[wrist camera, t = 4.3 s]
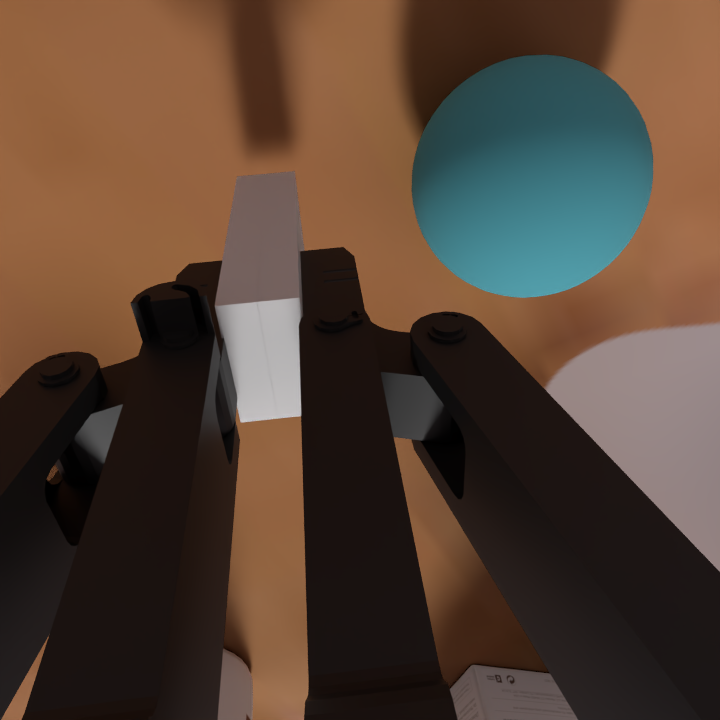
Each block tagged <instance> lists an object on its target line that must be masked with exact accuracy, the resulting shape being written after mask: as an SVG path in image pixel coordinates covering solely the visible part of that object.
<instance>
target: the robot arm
mask: <svg viewBox="0 0 720 720" xmlns="http://www.w3.org/2000/svg"><path fill="white" fill-rule="evenodd" d="M131 306H132V309H133V313H134V316H135V319H136V322H137V325H138V328H139V332H140V335H141V338H142V341H143V343H142V346H141V349H140V352H139V356H137V357H135V358H133V359H130V360H127V361H124V362H121V363H118V364H114V365H111V366H108V367H104V368H100V366H99V363H98V360H97V358H95V357H94V356H92V355H91V354H89V353H83V352H67V353H66V352H65V353H59V354H57V355H52V356H49V357H47V358H46V359H44V360H42V361H40V362H38V363H36V364H34V365H33V366H32V367H30V368H29V369H28V370H27V371H25V372H24V373H23V374H22V375H21V377H20V378H19V379H18V380H17V381H16V382H15V383H14V384H13V385H12V386H11V387H10V388H9V389H8V391H7V392H6V393H5V394H4V395H3V396H2V397H1V398H0V720H1V719H2V717H3V715H4V713H5V711H6V710H7V708H8V706H9V704H10V703H11V701H12V699H13V697H14V696H15V694H16V692H17V690H18V689H19V687H20V685H21V683H22V682H23V680H24V678H25V676H26V674H27V673H28V671H29V669H30V667H31V666H32V664H33V662H34V660H35V659H36V657H37V655H38V653H39V652H40V650H41V648H42V646H43V645H44V643H45V641H46V639H47V637H48V636H49V638H48V641H47V644H46V647H45V650H44V654H43V657H42V660H41V663H40V666H39V669H38V672H37V676H36V679H35V682H34V685H33V688H32V691H31V694H30V698H29V701H28V704H27V707H26V710H25V713H24V715H23V718H22V720H218V708H219V695H220V683H221V670H222V658H223V645H224V633H225V620H226V607H227V595H228V582H229V570H230V557H231V544H232V532H233V519H234V507H235V494H236V481H237V469H238V456H239V444H240V439H239V434H238V430H237V425H236V421H235V419H236V408H238V412H239V417H240V421H241V422H250V421H259V420H268V419H277V418H287V417H296V416H301V425H302V461H303V496H304V531H305V567H306V602H307V638H308V673H309V691H308V697H307V699H306V701H305V714H304V720H458V719H457V715H456V711H455V706H454V702H453V698H452V695H451V692H450V689H449V686H448V684H447V683H446V681H445V680H444V679H443V677H442V674H441V671H440V666H439V662H438V657H437V652H436V647H435V642H434V637H433V632H432V627H431V622H430V617H429V612H428V607H427V602H426V597H425V592H424V587H423V582H422V577H421V572H420V567H419V562H418V557H417V552H416V547H415V542H414V537H413V532H412V527H411V522H410V517H409V512H408V507H407V502H406V497H405V492H404V487H403V482H402V477H401V472H400V467H399V462H398V457H397V452H396V447H395V442H394V437H398V438H406V439H412V443H413V447H414V450H415V451H416V453H417V455H418V456H419V458H420V460H421V461H422V463H423V465H424V466H425V468H426V470H427V471H428V473H429V474H430V476H431V478H432V479H433V481H434V483H435V484H436V486H437V488H438V489H439V491H440V493H441V494H442V496H443V498H444V499H445V501H446V503H447V504H448V506H449V508H450V509H451V511H452V512H453V514H454V516H455V517H456V519H457V521H458V522H459V524H460V526H461V527H462V529H463V531H464V532H465V534H466V536H467V537H468V539H469V541H470V542H471V544H472V546H473V547H474V549H475V550H476V552H477V554H478V555H479V557H480V559H481V560H482V562H483V564H484V565H485V567H486V569H487V570H488V572H489V574H490V575H491V577H492V579H493V580H494V582H495V583H496V585H497V587H498V588H499V590H500V592H501V593H502V595H503V597H504V598H505V600H506V602H507V603H508V605H509V607H510V608H511V610H512V612H513V613H514V615H515V617H516V618H517V620H518V621H519V623H520V625H521V626H522V628H523V630H524V631H525V633H526V635H527V636H528V638H529V640H530V641H531V643H532V645H533V646H534V648H535V650H536V651H537V653H538V655H539V656H540V658H541V659H542V661H543V663H544V664H545V666H546V668H547V669H548V671H549V673H550V674H551V676H552V678H553V679H554V681H555V683H556V684H557V686H558V688H559V689H560V691H561V692H562V694H563V696H564V697H565V699H566V701H567V702H568V704H569V706H570V707H571V709H572V711H573V712H574V714H575V716H576V717H577V719H578V720H720V572H719V571H718V570H717V569H716V568H715V567H714V566H713V564H712V563H711V562H710V561H709V560H708V559H707V558H706V557H705V556H704V555H703V554H702V553H701V552H700V551H699V550H698V549H697V548H696V547H695V546H694V545H693V544H692V543H691V542H690V540H689V539H688V538H687V537H686V536H685V535H684V534H683V533H682V532H681V531H680V530H679V529H678V528H677V527H676V526H675V525H674V524H673V523H672V522H671V521H670V520H669V519H668V518H667V517H666V516H665V514H664V513H663V512H662V511H661V510H660V509H659V508H658V507H657V506H656V505H655V504H654V503H653V502H652V501H651V500H650V499H649V498H648V497H647V496H646V495H645V494H644V493H643V491H642V490H641V489H640V488H639V487H638V486H637V485H636V484H635V483H634V482H633V481H632V480H631V479H630V478H629V477H628V476H627V475H626V474H625V473H624V472H623V471H622V470H621V469H620V467H619V466H618V465H617V464H616V463H614V461H613V460H612V459H611V458H610V457H609V456H608V455H607V454H606V453H605V452H604V451H603V450H602V449H601V448H600V447H599V446H598V445H597V444H596V442H594V440H593V439H592V438H591V437H590V436H589V435H588V434H587V433H586V432H585V431H584V430H583V429H582V428H581V427H580V426H579V425H578V424H577V423H576V422H575V421H574V420H573V419H572V417H570V415H569V414H568V413H567V412H566V411H565V410H564V409H563V408H562V407H561V406H560V405H559V404H558V403H557V402H556V401H555V400H554V399H553V398H552V397H551V396H550V394H549V393H548V392H547V391H546V390H545V389H544V388H543V387H542V386H541V385H540V384H539V383H538V382H537V381H536V380H535V379H534V378H533V377H532V376H531V375H530V374H529V373H528V372H527V371H526V369H525V368H524V367H523V366H522V365H521V364H520V363H519V362H518V361H517V360H516V359H515V358H514V357H513V356H512V355H511V354H510V353H509V352H508V351H507V350H506V349H505V348H504V347H503V345H502V344H501V343H500V342H499V341H498V340H497V339H496V338H495V337H494V336H493V335H492V334H491V333H490V332H489V331H488V330H487V329H486V328H485V327H484V326H483V325H482V324H481V323H480V322H479V321H477V320H476V319H474V318H473V317H471V316H468V315H465V314H462V313H457V312H439V313H432V314H429V315H426V316H424V317H421V318H420V319H418V320H417V321H416V322H415V323H414V324H413V325H412V328H411V331H410V333H408V332H398V331H392V330H387V329H384V328H381V327H379V326H377V325H376V324H374V323H372V322H371V321H370V318H369V316H368V315H367V313H366V311H365V309H364V304H363V298H362V293H361V288H360V283H359V279H358V273H357V268H356V263H355V258H354V256H353V255H352V254H351V253H350V252H348V251H347V250H346V249H345V248H344V247H340V248H329V249H319V250H309V251H304V244H303V235H302V227H301V219H300V211H299V202H298V194H297V186H296V178H295V171H292V172H281V173H270V174H259V175H248V176H238V177H237V180H236V186H235V191H234V197H233V203H232V209H231V214H230V220H229V226H228V232H227V237H226V243H225V249H224V255H223V260H222V261H213V262H202V263H192V264H189V265H188V266H186V267H185V268H184V269H183V270H182V271H181V272H180V273H179V274H178V275H177V277H176V281H173V282H167V283H162V284H158V285H156V286H153V287H150V288H148V289H146V290H144V291H143V292H141V293H140V294H138V295H136V297H135V298H134V299H133V301H132V302H131ZM54 464H55V465H56V467H57V469H58V471H57V472H56V474H55V475H54V477H53V478H52V479H51V480H50V481H48V480H47V477H48V475H49V472H50V470H51V469H52V467H53V466H54ZM49 634H50V635H49Z"/></svg>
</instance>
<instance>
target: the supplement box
mask: <svg viewBox="0 0 720 720" xmlns="http://www.w3.org/2000/svg"><path fill="white" fill-rule="evenodd" d="M450 692H451V695H452V698H453V702H454V706H455V711H456V715H457V719H458V720H578V719H577V717H576V716H575V714H574V712H573V711H572V709H571V707H570V706H569V704H568V702H567V701H566V699H565V697H564V696H563V694H562V692H561V691H560V689H559V688H558V686H557V684H556V683H555V681H554V679H553V678H552V676H551V674H549V673H540V672H532V671H524V670H515V669H506V668H497V667H489V666H481V665H471V666H470V667H469V668H468V669H467V671H466V672H465V673H464V674H463V675H462V676H461V677H460V678H459V680H458V681H457V682H456V683H455V684H454V685H453V686H452V687H451V689H450Z"/></svg>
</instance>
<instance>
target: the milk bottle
mask: <svg viewBox="0 0 720 720" xmlns="http://www.w3.org/2000/svg"><path fill="white" fill-rule="evenodd" d="M252 710H253V681H252V677H251V674H250V672H249V669H248V667H247V665H246V664H245V663H244V662H243V660H242V659H241V658H239V657H238V656H236V655H235V654H234V653H232V652H230V651H227V650H225V649H223V658H222V670H221V683H220V695H219V708H218V720H252Z"/></svg>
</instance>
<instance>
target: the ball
mask: <svg viewBox="0 0 720 720" xmlns="http://www.w3.org/2000/svg"><path fill="white" fill-rule="evenodd" d="M652 181H653V153H652V146H651V142H650V138H649V135H648V132H647V128H646V125H645V122H644V120H643V118H642V116H641V114H640V112H639V110H638V109H637V107H636V106H635V104H634V103H633V101H632V100H631V99H630V97H629V96H628V94H627V93H626V92H625V91H624V90H623V89H622V88H621V87H620V86H619V85H618V84H617V83H616V82H615V81H614V80H612V79H611V78H610V77H608V76H607V75H605V74H604V73H602V72H601V71H600V70H598V69H596V68H594V67H592V66H590V65H588V64H586V63H583V62H580V61H577V60H574V59H570V58H567V57H563V56H555V55H526V56H520V57H515V58H510V59H507V60H504V61H501V62H498V63H495V64H493V65H491V66H489V67H486V68H484V69H482V70H480V71H479V72H477V73H476V74H474V75H472V76H471V77H469V78H468V79H466V80H465V81H464V82H463V83H461V84H460V85H459V86H458V87H457V88H455V89H454V90H453V91H452V92H451V93H450V94H449V95H448V96H447V97H446V98H445V99H444V101H443V102H442V103H441V104H440V106H439V107H438V108H437V110H436V111H435V112H434V114H433V115H432V117H431V119H430V120H429V122H428V124H427V126H426V127H425V129H424V132H423V134H422V136H421V139H420V141H419V144H418V147H417V151H416V154H415V158H414V164H413V170H412V198H413V205H414V210H415V214H416V218H417V221H418V224H419V227H420V229H421V232H422V234H423V236H424V238H425V239H426V241H427V243H428V245H429V246H430V248H431V250H432V251H433V253H434V254H435V255H436V256H437V257H438V259H439V260H440V261H441V262H442V263H443V264H444V265H445V266H446V267H447V268H448V269H449V270H451V271H452V272H453V273H454V274H455V275H456V276H458V277H459V278H461V279H462V280H464V281H465V282H467V283H469V284H471V285H473V286H475V287H477V288H480V289H482V290H484V291H487V292H491V293H494V294H499V295H504V296H510V297H524V298H525V297H538V296H544V295H550V294H555V293H558V292H561V291H565V290H567V289H570V288H572V287H575V286H577V285H579V284H581V283H583V282H585V281H587V280H588V279H590V278H591V277H593V276H595V275H596V274H598V273H599V272H600V271H602V270H603V269H604V268H605V267H606V266H608V265H609V264H610V263H611V262H612V261H613V260H614V259H615V258H616V257H617V256H618V255H619V254H620V253H621V252H622V250H623V249H624V248H625V247H626V246H627V244H628V243H629V241H630V240H631V238H632V237H633V235H634V234H635V232H636V230H637V228H638V226H639V225H640V223H641V220H642V218H643V215H644V213H645V210H646V208H647V205H648V201H649V198H650V194H651V189H652Z"/></svg>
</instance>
